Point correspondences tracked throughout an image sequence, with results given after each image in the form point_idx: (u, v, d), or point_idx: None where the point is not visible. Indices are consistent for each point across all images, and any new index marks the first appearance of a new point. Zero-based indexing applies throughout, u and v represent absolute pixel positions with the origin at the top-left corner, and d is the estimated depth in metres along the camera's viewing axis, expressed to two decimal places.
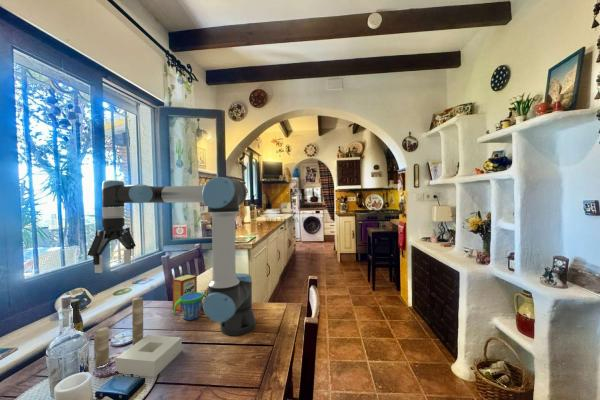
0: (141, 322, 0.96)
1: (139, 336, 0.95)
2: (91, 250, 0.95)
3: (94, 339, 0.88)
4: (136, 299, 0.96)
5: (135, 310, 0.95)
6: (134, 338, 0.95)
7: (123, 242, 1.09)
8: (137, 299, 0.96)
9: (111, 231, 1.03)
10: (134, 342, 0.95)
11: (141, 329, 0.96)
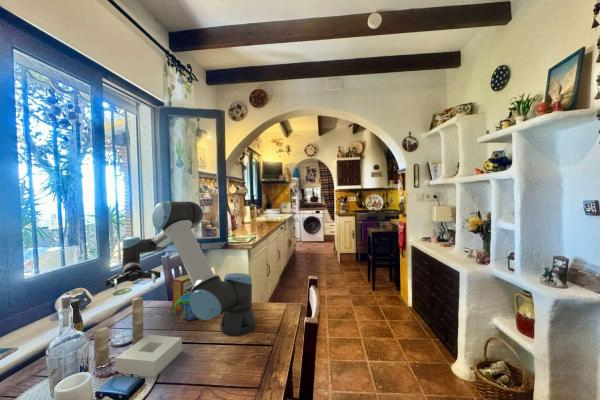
0: (141, 322, 0.96)
1: (139, 336, 0.95)
2: None
3: (94, 339, 0.88)
4: (136, 299, 0.96)
5: (135, 310, 0.95)
6: (134, 338, 0.95)
7: (146, 275, 1.15)
8: (137, 299, 0.96)
9: None
10: (134, 342, 0.95)
11: (141, 329, 0.96)
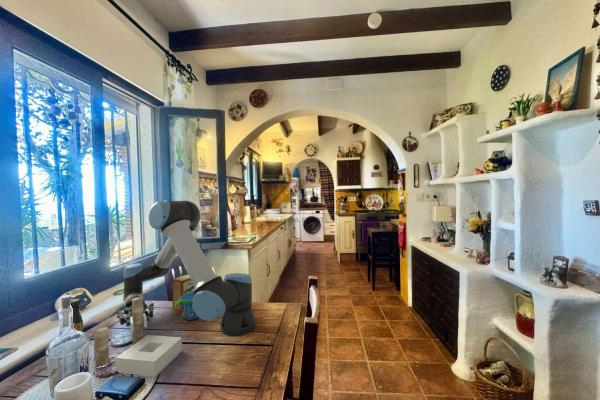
0: (141, 322, 0.96)
1: (139, 336, 0.95)
2: (120, 320, 0.96)
3: (94, 339, 0.88)
4: (136, 299, 0.96)
5: (135, 310, 0.95)
6: (134, 338, 0.95)
7: None
8: (137, 299, 0.96)
9: (128, 307, 1.05)
10: (134, 342, 0.95)
11: (141, 329, 0.96)
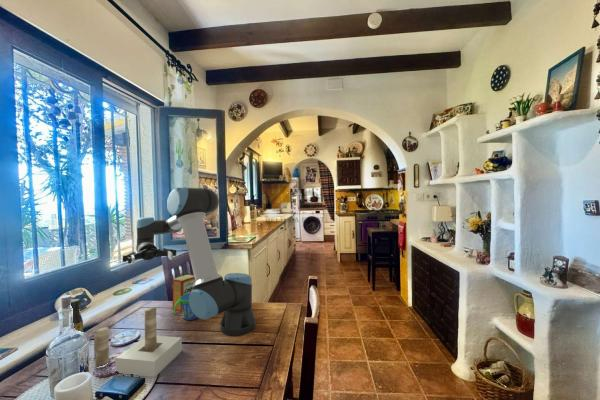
0: (154, 335, 0.87)
1: (152, 351, 0.86)
2: None
3: (94, 339, 0.88)
4: (149, 310, 0.87)
5: (148, 322, 0.85)
6: None
7: (161, 252, 1.14)
8: (150, 310, 0.87)
9: None
10: None
11: (155, 343, 0.87)
